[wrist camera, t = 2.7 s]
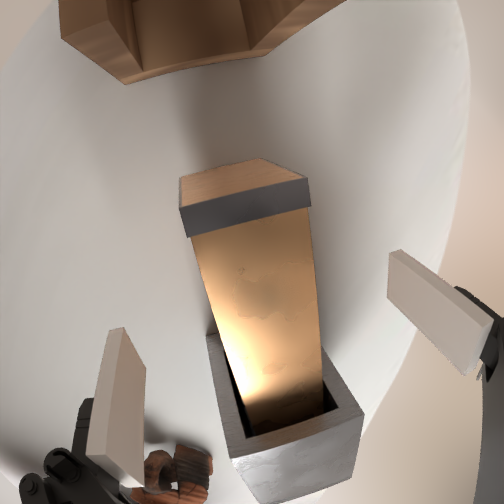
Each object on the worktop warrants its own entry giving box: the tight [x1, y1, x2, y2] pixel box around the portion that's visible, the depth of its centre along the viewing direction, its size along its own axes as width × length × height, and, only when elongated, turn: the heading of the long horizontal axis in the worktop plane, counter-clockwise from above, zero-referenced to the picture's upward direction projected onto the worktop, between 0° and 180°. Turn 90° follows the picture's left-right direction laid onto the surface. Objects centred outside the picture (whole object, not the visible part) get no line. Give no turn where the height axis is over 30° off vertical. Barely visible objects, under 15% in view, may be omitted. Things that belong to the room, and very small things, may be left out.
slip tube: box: [179, 158, 324, 436], centre depth 16 cm, size 4×20×6 cm, turn 10°
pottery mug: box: [130, 445, 213, 504], centre depth 25 cm, size 12×10×8 cm
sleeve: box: [206, 333, 365, 504], centre depth 19 cm, size 7×10×10 cm
